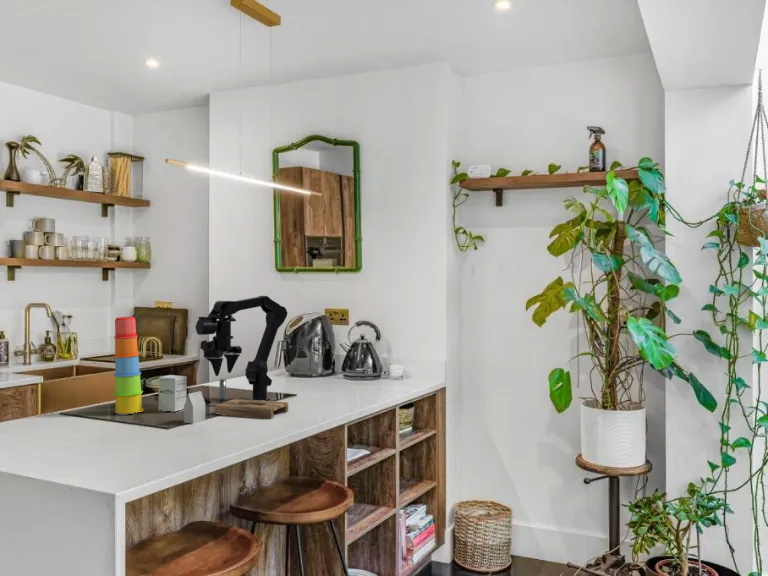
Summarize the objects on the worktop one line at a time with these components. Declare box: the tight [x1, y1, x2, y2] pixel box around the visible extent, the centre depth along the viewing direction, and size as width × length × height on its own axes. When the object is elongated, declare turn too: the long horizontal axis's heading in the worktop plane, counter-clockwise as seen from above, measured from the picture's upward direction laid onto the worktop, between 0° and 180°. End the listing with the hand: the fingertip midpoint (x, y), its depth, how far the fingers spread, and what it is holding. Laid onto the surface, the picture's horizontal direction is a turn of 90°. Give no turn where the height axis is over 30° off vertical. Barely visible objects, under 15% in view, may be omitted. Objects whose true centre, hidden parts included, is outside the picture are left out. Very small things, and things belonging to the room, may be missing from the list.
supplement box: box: [158, 374, 188, 412], centre depth 252 cm, size 7×7×13 cm
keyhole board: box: [214, 398, 289, 420], centre depth 248 cm, size 14×22×4 cm, turn 73°
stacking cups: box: [113, 316, 145, 413], centre depth 247 cm, size 10×10×35 cm
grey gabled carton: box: [183, 390, 206, 425], centre depth 232 cm, size 4×7×10 cm, turn 159°
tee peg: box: [216, 378, 227, 405], centre depth 262 cm, size 5×5×10 cm
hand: (223, 374), depth 262 cm, fingers open, 9 cm apart
